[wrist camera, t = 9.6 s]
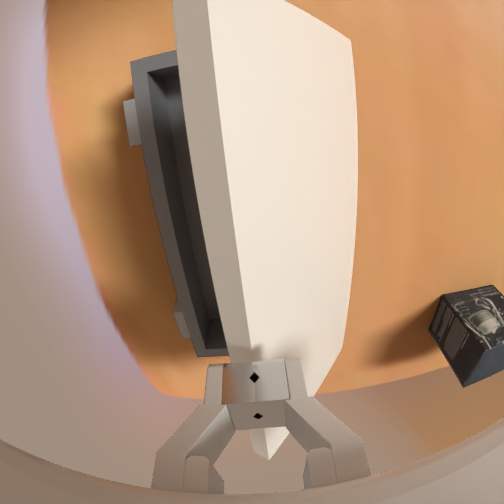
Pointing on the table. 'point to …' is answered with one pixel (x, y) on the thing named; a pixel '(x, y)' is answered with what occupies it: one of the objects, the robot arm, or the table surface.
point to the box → (471, 332)
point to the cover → (272, 177)
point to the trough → (175, 197)
